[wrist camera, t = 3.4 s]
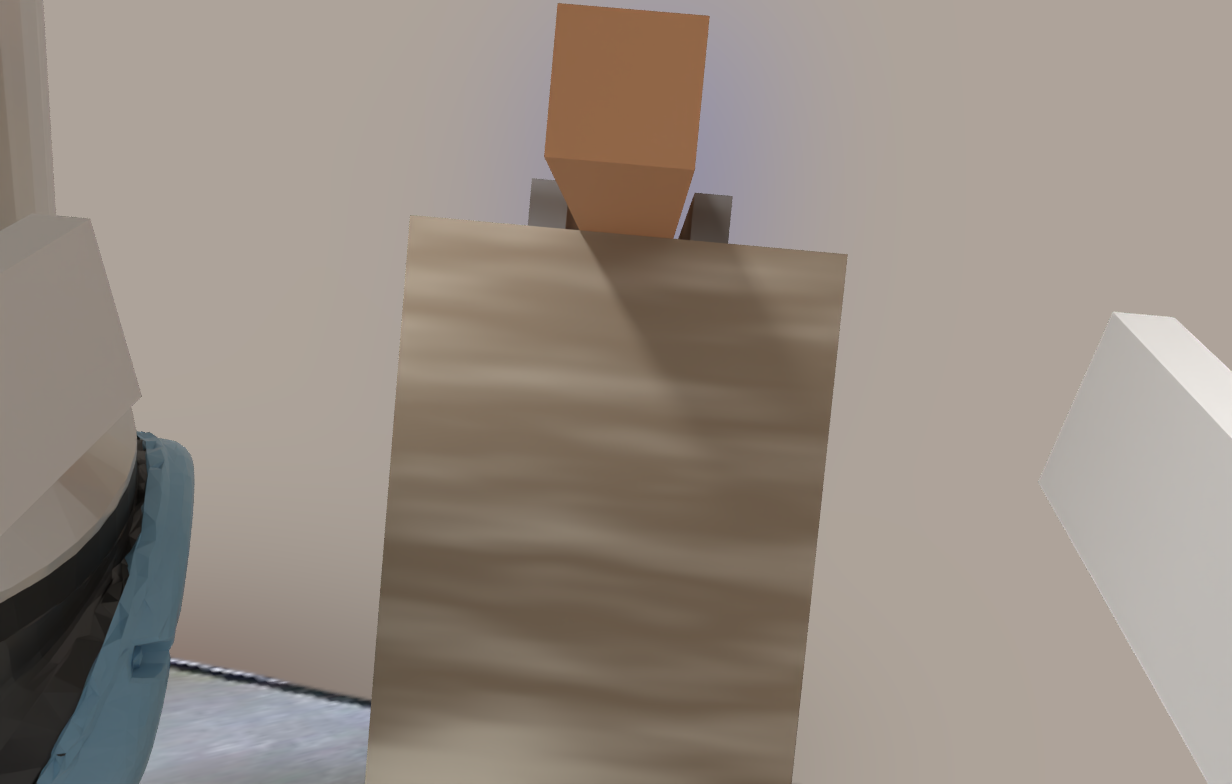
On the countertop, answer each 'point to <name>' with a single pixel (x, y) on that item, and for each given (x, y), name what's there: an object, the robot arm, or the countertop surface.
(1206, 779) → the robot arm
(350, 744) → the countertop surface
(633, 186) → the orange bar
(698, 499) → the grey-brown tall block
